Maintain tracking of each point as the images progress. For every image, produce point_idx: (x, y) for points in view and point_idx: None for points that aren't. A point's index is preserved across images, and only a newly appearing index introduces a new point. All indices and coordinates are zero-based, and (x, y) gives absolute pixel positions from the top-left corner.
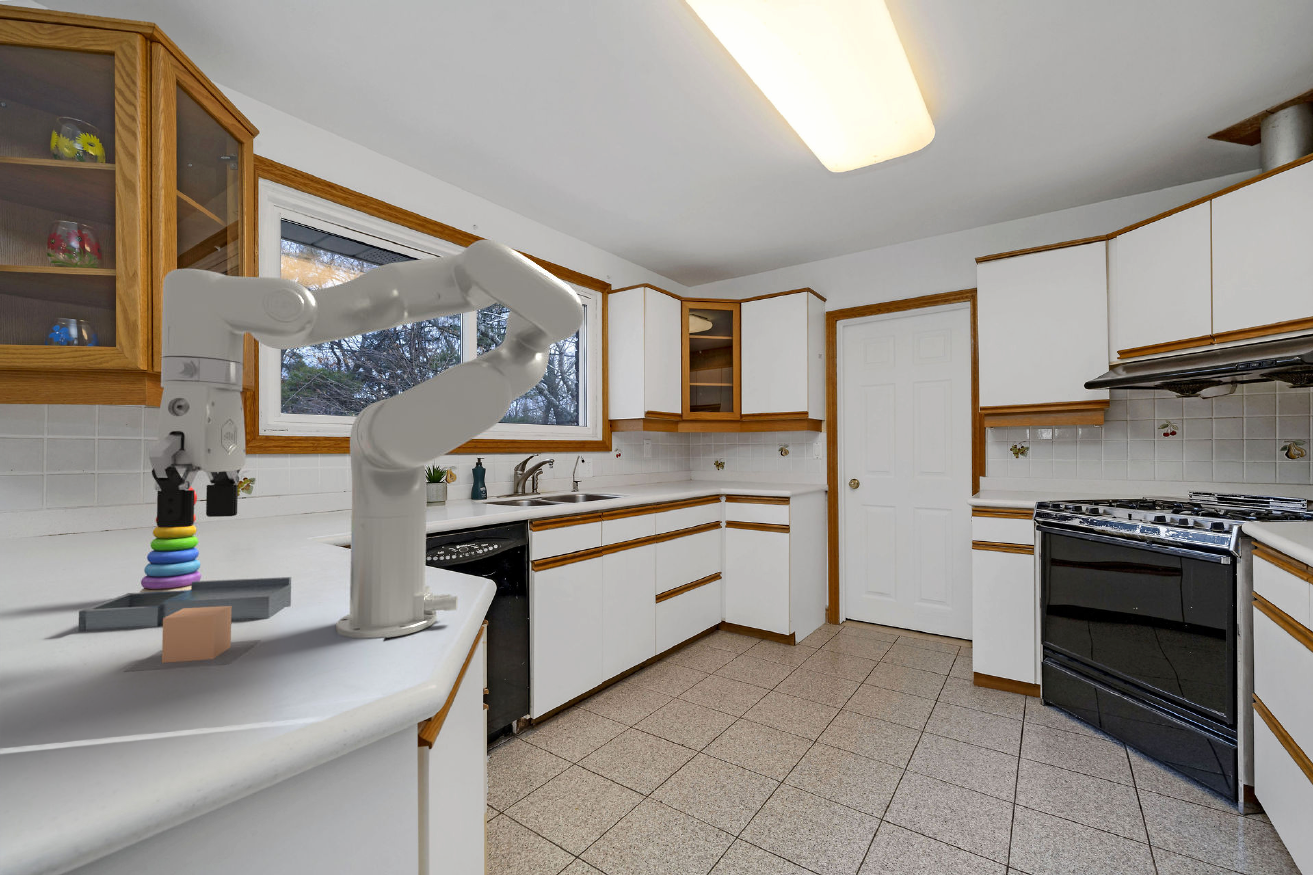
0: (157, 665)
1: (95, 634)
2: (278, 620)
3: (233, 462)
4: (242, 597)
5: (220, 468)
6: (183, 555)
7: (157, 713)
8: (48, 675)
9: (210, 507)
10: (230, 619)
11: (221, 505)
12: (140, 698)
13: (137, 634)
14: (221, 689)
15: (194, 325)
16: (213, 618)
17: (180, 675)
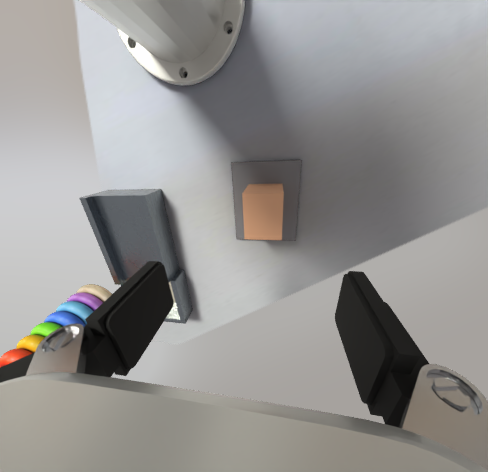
0: (287, 222)
1: (193, 300)
2: (158, 179)
3: (110, 444)
4: (150, 222)
5: (309, 426)
6: (69, 319)
7: (407, 165)
8: (279, 284)
9: (163, 313)
10: (246, 190)
11: (155, 299)
12: (359, 199)
13: (195, 276)
14: (367, 135)
15: None
16: (283, 192)
17: (310, 195)
